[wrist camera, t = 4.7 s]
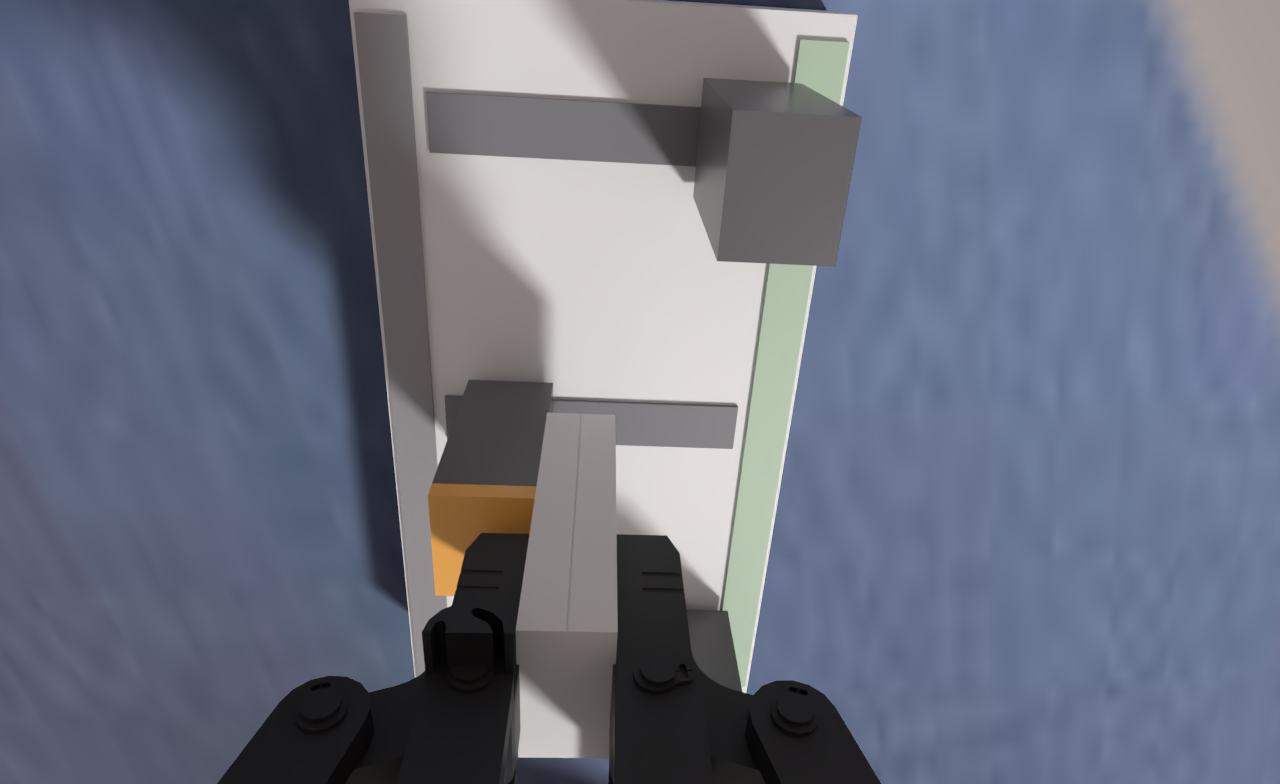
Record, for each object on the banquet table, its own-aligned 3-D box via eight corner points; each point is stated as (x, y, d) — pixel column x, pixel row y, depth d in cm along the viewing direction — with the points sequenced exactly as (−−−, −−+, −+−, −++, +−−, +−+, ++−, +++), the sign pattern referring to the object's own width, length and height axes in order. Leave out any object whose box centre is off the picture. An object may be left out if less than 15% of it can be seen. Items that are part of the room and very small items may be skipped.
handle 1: (657, 608, 23) (666, 741, 19) (727, 610, 23) (751, 742, 19) (651, 671, 24) (659, 808, 20) (718, 672, 24) (739, 809, 20)
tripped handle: (468, 379, 19) (427, 495, 15) (553, 382, 19) (536, 498, 15) (472, 465, 20) (435, 595, 16) (552, 467, 20) (536, 597, 16)
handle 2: (703, 78, 16) (733, 110, 12) (801, 83, 16) (862, 116, 12) (692, 197, 17) (716, 261, 13) (785, 201, 17) (835, 266, 13)
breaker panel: (380, -18, 18) (345, -18, 15) (827, 10, 18) (859, 15, 16) (432, 631, 26) (415, 693, 24) (734, 636, 27) (746, 698, 25)
